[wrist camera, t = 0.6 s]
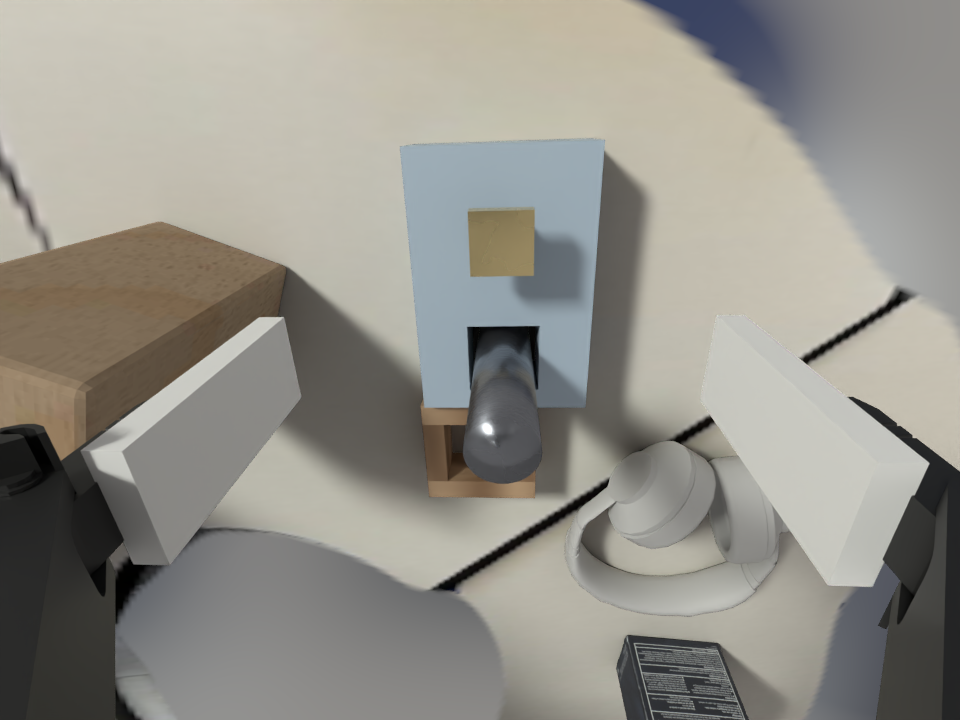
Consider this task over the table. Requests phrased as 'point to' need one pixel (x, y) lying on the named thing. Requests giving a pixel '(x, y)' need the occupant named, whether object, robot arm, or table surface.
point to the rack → (459, 461)
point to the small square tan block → (501, 241)
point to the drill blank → (503, 408)
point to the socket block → (504, 299)
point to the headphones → (680, 531)
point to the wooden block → (119, 323)
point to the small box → (676, 681)
